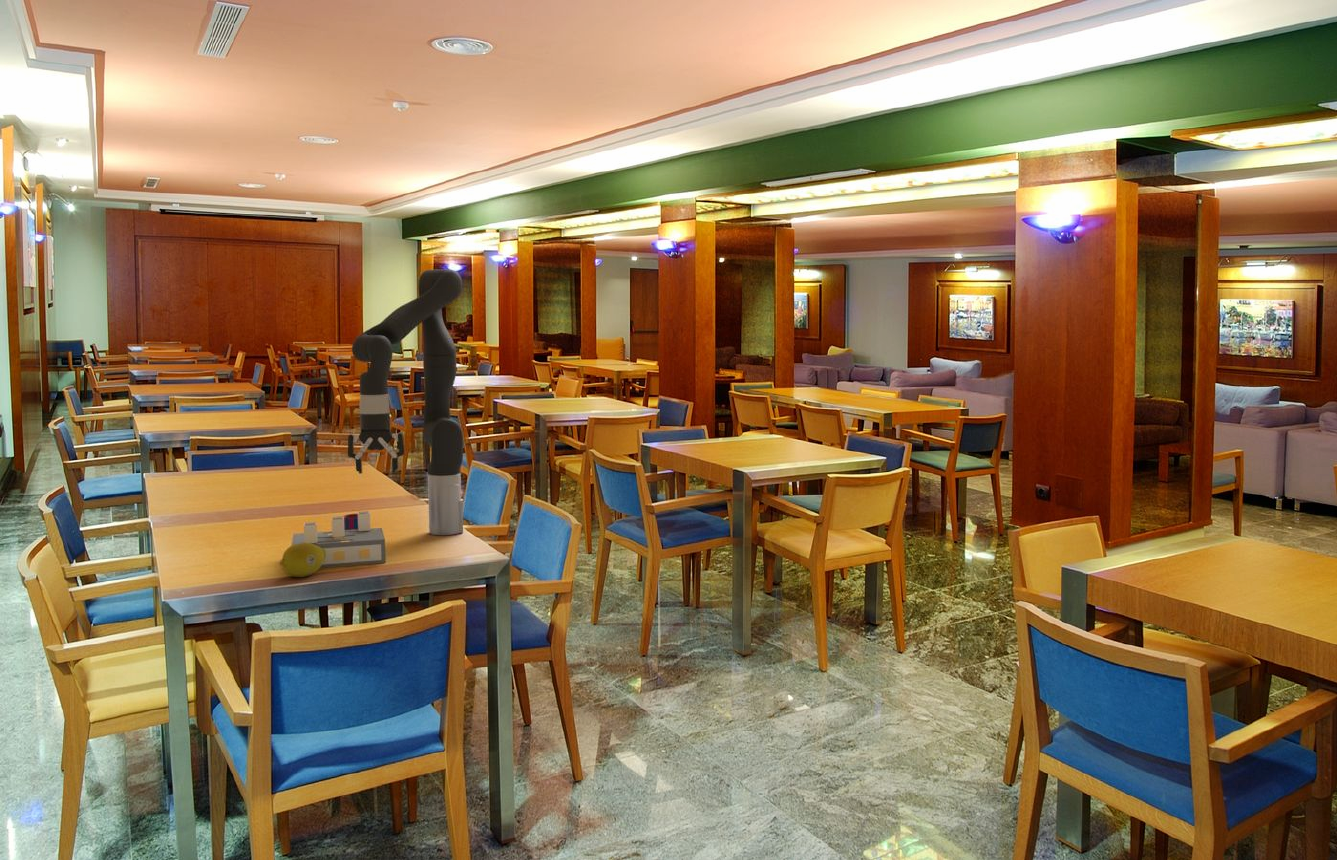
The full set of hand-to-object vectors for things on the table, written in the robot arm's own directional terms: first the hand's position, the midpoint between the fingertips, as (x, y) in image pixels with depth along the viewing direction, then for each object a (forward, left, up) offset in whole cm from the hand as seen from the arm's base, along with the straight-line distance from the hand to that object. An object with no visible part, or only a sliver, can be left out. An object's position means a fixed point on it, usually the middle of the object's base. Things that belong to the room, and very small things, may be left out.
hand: (377, 472), depth 258 cm
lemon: (+19, +23, -21) cm, 36 cm away
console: (+10, +8, -21) cm, 25 cm away
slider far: (+4, +2, -15) cm, 15 cm away
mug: (+7, -17, -21) cm, 28 cm away
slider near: (+17, +13, -15) cm, 26 cm away
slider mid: (+10, +8, -15) cm, 20 cm away
